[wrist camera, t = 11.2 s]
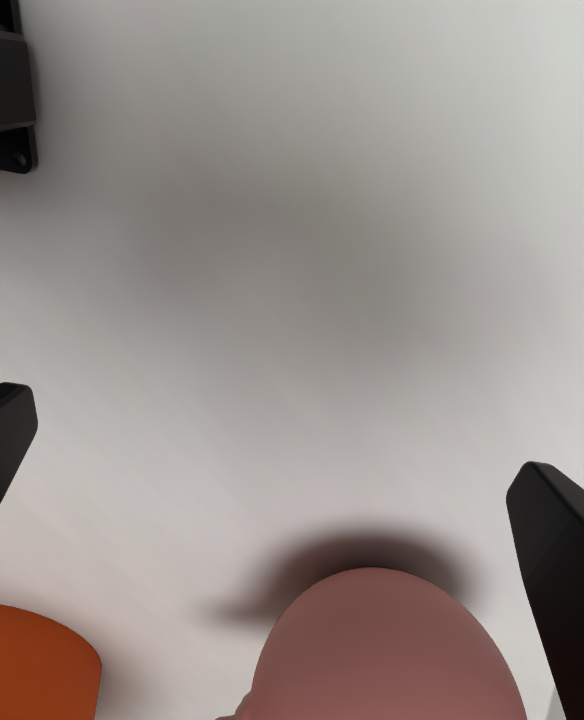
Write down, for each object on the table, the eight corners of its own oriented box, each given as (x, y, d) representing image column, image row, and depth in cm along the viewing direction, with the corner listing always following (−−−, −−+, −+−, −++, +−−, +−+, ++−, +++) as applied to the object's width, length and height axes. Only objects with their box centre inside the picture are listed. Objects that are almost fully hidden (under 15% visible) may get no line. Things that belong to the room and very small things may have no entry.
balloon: (174, 530, 30) (66, 876, 17) (484, 506, 28) (640, 888, 15) (227, 648, 38) (182, 947, 25) (472, 638, 36) (566, 961, 22)
